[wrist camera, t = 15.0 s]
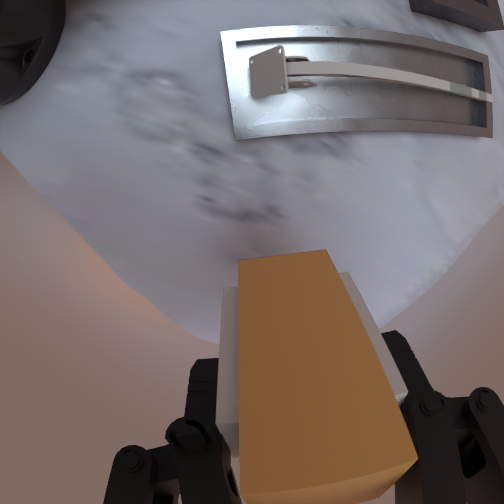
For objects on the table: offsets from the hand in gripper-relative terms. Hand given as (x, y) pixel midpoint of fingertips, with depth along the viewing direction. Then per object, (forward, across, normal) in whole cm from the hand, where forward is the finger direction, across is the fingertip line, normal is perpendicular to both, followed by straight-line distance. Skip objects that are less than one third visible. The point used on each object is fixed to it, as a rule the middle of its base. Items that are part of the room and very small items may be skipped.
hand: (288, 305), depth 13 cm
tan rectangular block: (+1, 0, 0) cm, 1 cm away
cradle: (+15, +11, +10) cm, 21 cm away
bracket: (+14, +12, +10) cm, 21 cm away
